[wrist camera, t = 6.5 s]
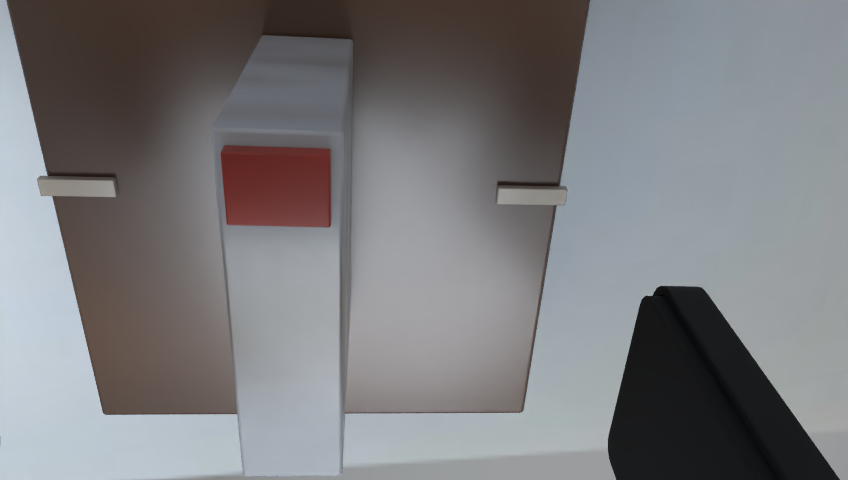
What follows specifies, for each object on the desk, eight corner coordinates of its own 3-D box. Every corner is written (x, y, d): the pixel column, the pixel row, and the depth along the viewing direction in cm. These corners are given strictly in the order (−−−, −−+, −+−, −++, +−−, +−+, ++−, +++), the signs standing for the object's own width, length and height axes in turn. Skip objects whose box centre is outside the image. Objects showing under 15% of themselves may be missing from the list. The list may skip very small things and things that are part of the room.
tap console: (507, 338, 20) (528, 418, 17) (135, 336, 19) (95, 421, 16) (575, -148, 14) (623, -141, 11) (37, -179, 13) (-51, -181, 10)
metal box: (350, 315, 15) (341, 489, 11) (275, 313, 15) (240, 490, 11) (353, 38, 13) (343, 140, 8) (261, 34, 12) (205, 135, 8)
